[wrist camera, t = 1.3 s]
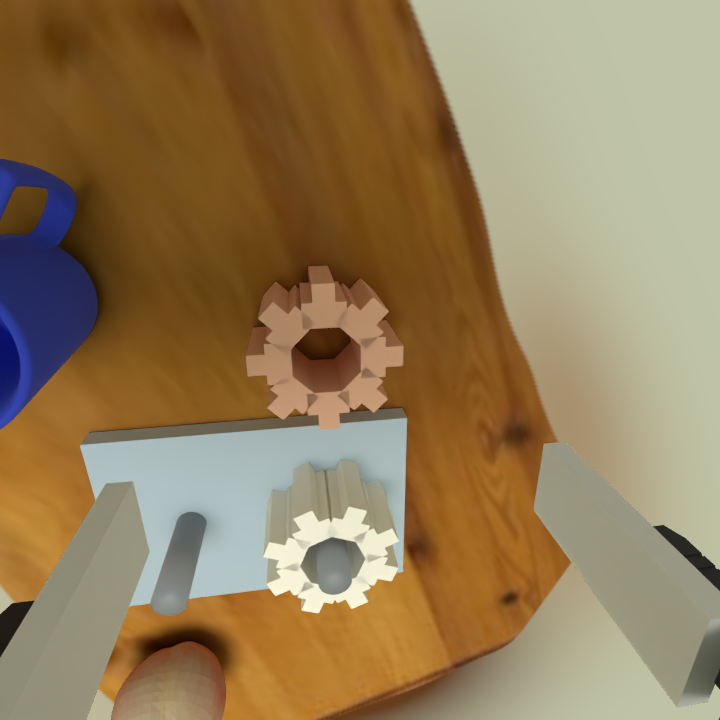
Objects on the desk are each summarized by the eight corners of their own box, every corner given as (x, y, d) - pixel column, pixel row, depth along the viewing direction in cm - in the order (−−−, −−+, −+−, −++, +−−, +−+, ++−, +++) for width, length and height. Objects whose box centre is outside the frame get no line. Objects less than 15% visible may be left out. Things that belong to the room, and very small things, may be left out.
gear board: (89, 432, 30) (24, 515, 23) (402, 407, 33) (434, 474, 25) (132, 589, 35) (90, 698, 28) (398, 557, 38) (424, 649, 31)
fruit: (232, 683, 41) (219, 794, 33) (136, 690, 40) (101, 808, 32) (230, 618, 38) (216, 724, 31) (127, 624, 37) (86, 737, 29)
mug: (167, 209, 26) (99, 227, 17) (86, 380, 29) (-9, 476, 20) (11, 120, 23) (-171, 84, 14) (-60, 318, 26) (-248, 395, 17)
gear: (244, 490, 32) (236, 544, 27) (357, 439, 31) (369, 485, 27) (299, 571, 35) (301, 630, 30) (402, 525, 35) (419, 579, 30)
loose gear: (246, 268, 28) (237, 287, 23) (386, 263, 29) (404, 279, 24) (260, 396, 31) (254, 435, 26) (385, 387, 32) (401, 423, 27)
